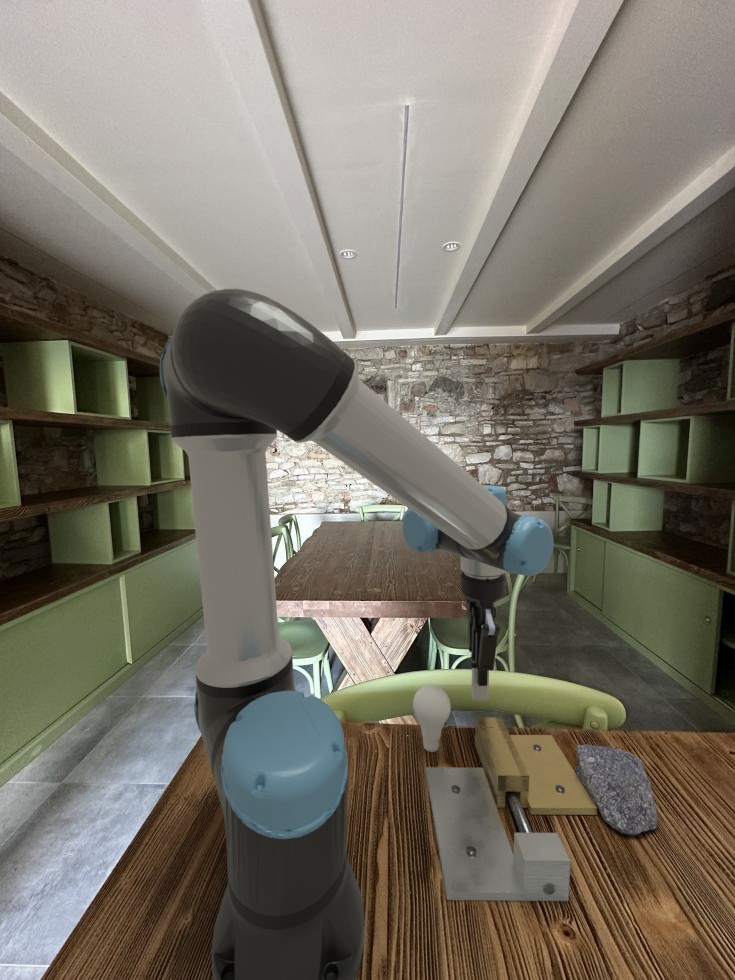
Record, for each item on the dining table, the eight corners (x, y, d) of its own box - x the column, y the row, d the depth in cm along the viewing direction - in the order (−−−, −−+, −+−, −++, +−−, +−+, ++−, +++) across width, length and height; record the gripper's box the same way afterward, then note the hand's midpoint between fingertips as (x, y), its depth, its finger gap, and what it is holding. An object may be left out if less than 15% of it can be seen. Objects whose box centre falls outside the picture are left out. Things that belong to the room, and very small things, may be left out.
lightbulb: (434, 771, 63) (435, 704, 61) (404, 749, 67) (405, 687, 66) (457, 751, 67) (458, 688, 65) (428, 732, 71) (429, 673, 70)
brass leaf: (499, 814, 55) (500, 781, 55) (473, 740, 69) (474, 713, 68) (596, 814, 55) (598, 781, 54) (551, 740, 69) (552, 713, 68)
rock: (566, 741, 63) (631, 736, 62) (567, 771, 64) (632, 766, 63) (608, 814, 51) (689, 808, 51) (609, 849, 52) (689, 844, 51)
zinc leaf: (446, 900, 45) (447, 859, 44) (420, 742, 69) (420, 715, 68) (568, 901, 45) (570, 860, 44) (499, 742, 68) (500, 715, 68)
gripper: (517, 585, 64) (512, 722, 67) (492, 561, 77) (489, 677, 80) (470, 585, 65) (467, 722, 67) (453, 562, 77) (452, 677, 80)
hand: (479, 697), depth 74 cm, fingers closed
